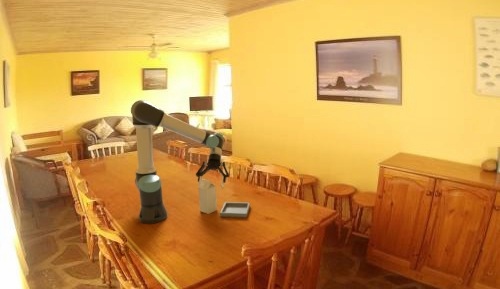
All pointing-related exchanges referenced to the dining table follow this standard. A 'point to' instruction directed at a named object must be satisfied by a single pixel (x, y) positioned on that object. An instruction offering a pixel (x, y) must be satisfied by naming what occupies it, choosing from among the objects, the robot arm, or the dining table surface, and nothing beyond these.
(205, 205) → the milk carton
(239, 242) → the dining table surface
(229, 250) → the dining table surface
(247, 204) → the gray square tray
